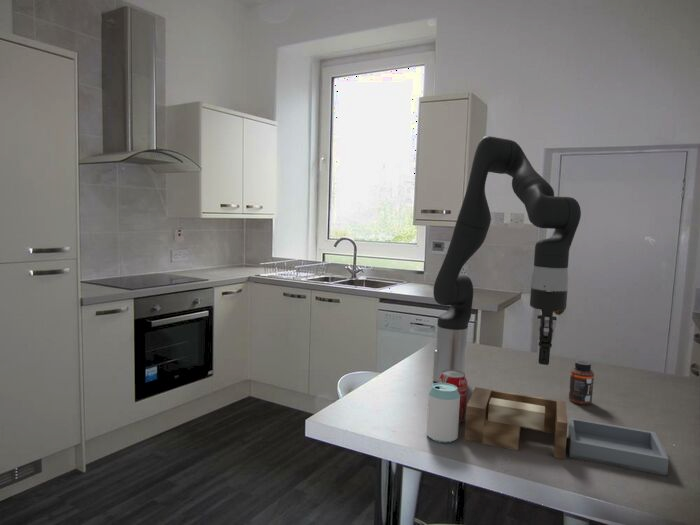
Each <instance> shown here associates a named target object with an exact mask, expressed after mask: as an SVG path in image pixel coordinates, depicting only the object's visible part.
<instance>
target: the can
mask: <svg viewBox="0 0 700 525" xmlns="http://www.w3.org/2000/svg"><path fill="white" fill-rule="evenodd" d="M457 389H458V388H457V387H456V386H455V385H452V384H449V383H438V382H436V383H432V384H431V388H430V390H429V391H428V400H427V419H426V435H427V437H429V438H430V439H431V438H432V439H434V440H436V441H435V442H437V441H440V442H439V443H441V442H449V443H451V442H450V441H452V442H454V441H455V440H457V439H458V437H459V424H460V423H459V406H460V394H459V392H458V391H457ZM432 439H431V440H432ZM434 440H433V441H434Z"/></svg>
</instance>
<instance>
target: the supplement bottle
mask: <svg viewBox="0 0 700 525" xmlns="http://www.w3.org/2000/svg"><path fill="white" fill-rule="evenodd" d="M574 363H575V365H574V366H575V367H573V368H572V369H571V370H570V376H569V378H570V379H569V393H568V399H569V401H570V402H572V403H574V404H577V405H582V406H583V405H584V406H586V405H587V406H588V405H590V404H592V400H593V391H594V380H595V373H594V372H593V370H592V363H591V362H588V361H584V360H575V362H574Z"/></svg>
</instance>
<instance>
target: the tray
mask: <svg viewBox="0 0 700 525" xmlns="http://www.w3.org/2000/svg"><path fill="white" fill-rule="evenodd" d="M567 421H568V426H567V442H568V444H567V445H568V452H569V457H570V458H575V459H578V460H579V459H580V460H584V461H585V460H586V461H588V462H589V461H590V462H595V463H600V464H606V465H610V466H615V467H621V468H625V469H631V470H636V471H641V472H646V473H651V474H656V475H661V476H666V477H667V476H668V471H669V469H668V468H669V460H670V459H669V456H668V455H667V453H666V451H665V449H664V447H663V444H662V443H661V442H660V440H659V438H658V437H659V436H658V435H657V433H656V432H655V431H652V430H644V429H639V428H634V427H627V426H621V425H615V424H610V423H604V422H596V421H591V420H586V419H579V418H574V417H567Z"/></svg>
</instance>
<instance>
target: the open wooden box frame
mask: <svg viewBox="0 0 700 525" xmlns="http://www.w3.org/2000/svg"><path fill="white" fill-rule="evenodd" d="M491 398H498V399H504V400H510V401H516V402H522V403H528V404H534V405H540V406H545V419H544V431H543V430H537V429H532V428H526V427H521V426H515V425H510V424H504V423H499V422H493V421H488V412H489V402H490V399H491ZM521 429H524V430H525V429H526V430H530V431H531V430H532V431H536V432H543V433H547V434H553V436H554V438H553V441H554V442H553V444H554V450H553V451H554V459H559V460H566V448H567V439H568V432H567V431H568V411H567V402H566V401H565V400H559V399H552V398H548V397H547V398H546V397H539V396H533V395H528V394H519V393H517V392H516V393H515V392H508V391H502V390H497V389H496V390H495V389H489V388H483V387H477V386H476V387H474V389H473V391H472V393H471V395H470V398H469V400H468V402H467V403H466V414H465V428H464V441H468V442H473V443H479V444H483V445H489V446H494V447H499V448H504V449H508V450H514V451H518V450H519V443H520V436H521Z"/></svg>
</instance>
